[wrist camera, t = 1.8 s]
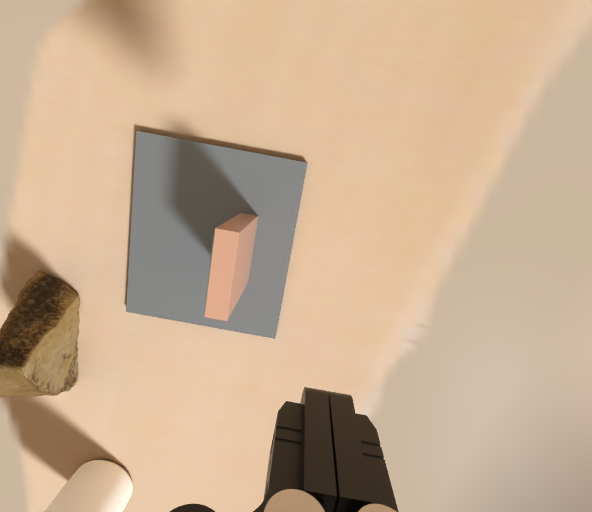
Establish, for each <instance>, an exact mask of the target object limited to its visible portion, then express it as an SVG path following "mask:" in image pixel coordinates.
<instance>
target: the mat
mask: <svg viewBox="0 0 592 512" xmlns="http://www.w3.org/2000/svg"><path fill="white" fill-rule="evenodd" d="M306 167H307V162H302V161H296V160H291V159H286V158H280V157H275V156H269V155H264V154H259V153H253V152H248V151H243V150H237V149H232V148H227V147H221V146H216V145H211V144H205V143H200V142H195V141H189V140H184V139H179V138H173V137H168V136H163V135H157V134H152V133H146V132H141V131H136V145H135V162H134V180H133V198H132V216H131V234H130V251H129V269H128V287H127V305H126V312H131V313H137V314H142V315H148V316H153V317H159V318H164V319H170V320H175V321H181V322H186V323H192V324H197V325H203V326H208V327H214V328H219V329H225V330H230V331H236V332H241V333H247V334H252V335H258V336H263V337H269V338H274V339H275V337H276V331H277V326H278V320H279V315H280V309H281V304H282V298H283V293H284V287H285V282H286V276H287V271H288V265H289V260H290V254H291V249H292V243H293V238H294V232H295V227H296V221H297V216H298V210H299V205H300V199H301V194H302V189H303V183H304V178H305V172H306ZM240 213H245V214H251V215H256V216H258V222H257V228H256V235H255V241H254V248H253V255H252V261H251V268H250V274H249V281H248V284H247V285H246V287H245V289H244V291H243V293H242V295H241V296H240V298H239V300H238V302H237V304H236V306H235V307H234V309H233V311H232V313H231V315H230V317H229V319H228V320H227V321H223V320H218V319H212V318H207V317H205V303H206V295H207V286H208V278H209V270H210V261H211V253H212V245H213V236H214V233H215V228H217V227H218V226H220V225H221V224H223V223H225V222H226V221H228V220H230V219H231V218H233V217H235V216H236V215H238V214H240Z"/></svg>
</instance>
